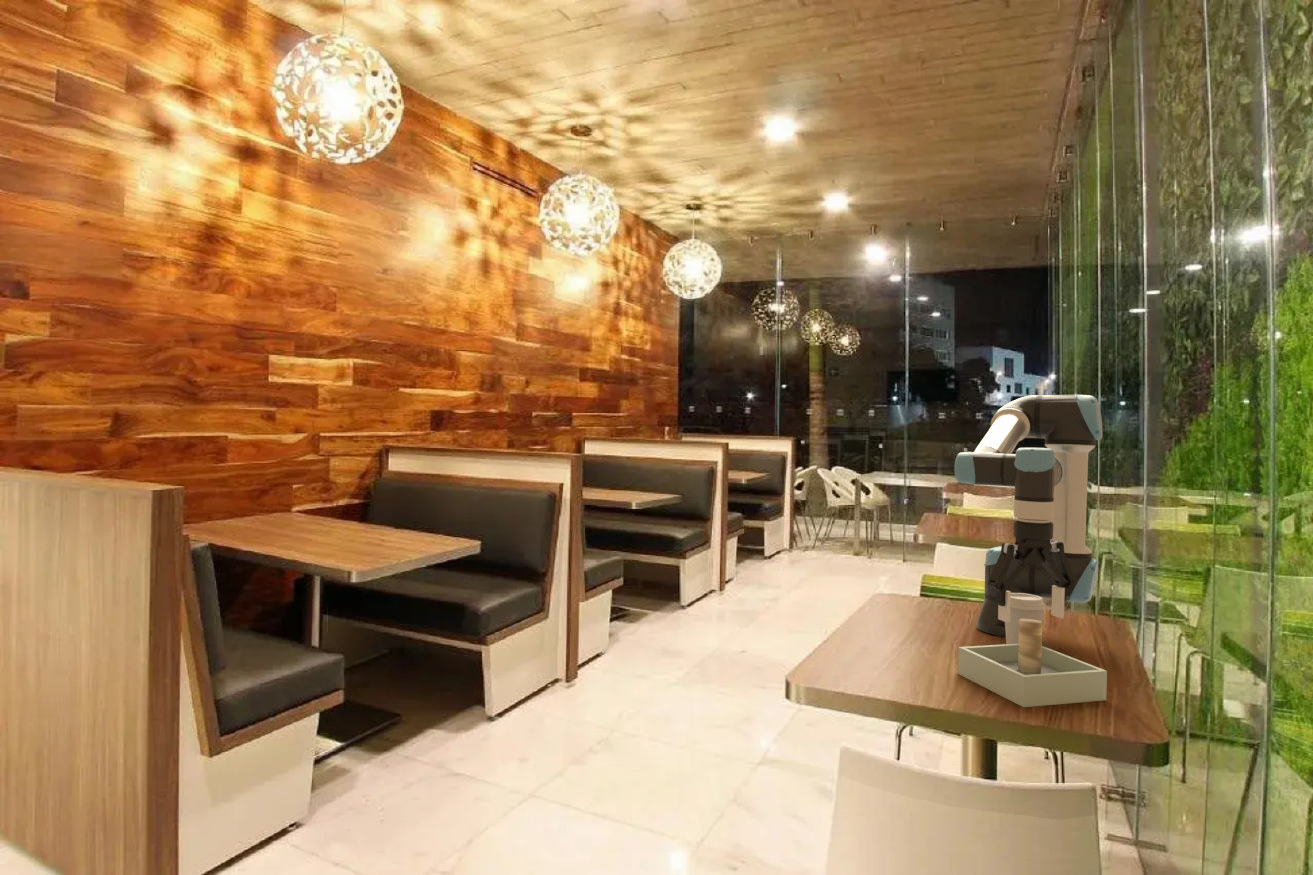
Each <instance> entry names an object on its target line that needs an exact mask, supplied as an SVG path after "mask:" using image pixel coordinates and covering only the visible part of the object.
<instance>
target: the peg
mask: <svg viewBox="0 0 1313 875" xmlns="http://www.w3.org/2000/svg"><path fill="white" fill-rule="evenodd" d="M1042 646H1043V621H1042V622H1041V621H1038V620H1033V619H1020V620H1019V648H1018V672H1019V673H1022V674H1024V675H1031V674H1041V654H1042Z"/></svg>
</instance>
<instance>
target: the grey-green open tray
mask: <svg viewBox="0 0 1313 875" xmlns="http://www.w3.org/2000/svg"><path fill="white" fill-rule="evenodd" d="M1018 648H1019V644H1005V643H1002V644H990V645H989V644H988V645H973V646H972V645H971V646H959V647H958V656H957V657H958V658H957V660H958V661H957V662H958V663H957V675H958V676H959V675H960V676H961V677H964V678H965V679H968V680H969V681H971V682H973V683H974V684H977V685H979V686H981V687H982V688H985V689H986V690H989V691H991V692H993V693H994V694H997V695H999V696H1000V697H1002V698H1004V699H1006V700H1008V701H1009V702H1010V701H1011V702H1012V703H1014V704H1016V705H1018V706H1020V707H1022V708H1029V707H1030V708H1032V707H1042V706H1053V705H1056V706H1057V705H1066V704H1079V703H1089V702H1100V701H1107V688H1108V687H1107V684H1108V670H1105V669H1103V668H1100V667H1098V666H1096V665H1093V664H1091V663H1087V662H1085V661H1082V660H1080V659H1077V658H1074V657H1073V656H1069V655H1067V654H1064V653H1062V652H1059V651H1056V650H1054V649H1051V648H1049V647H1046V646H1044V645H1042V654H1041V674H1031V675H1024V674H1022V673H1019V672H1018Z"/></svg>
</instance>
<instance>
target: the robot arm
mask: <svg viewBox="0 0 1313 875" xmlns="http://www.w3.org/2000/svg"><path fill="white" fill-rule="evenodd" d="M1102 420H1103V418H1102V414H1101V408H1100V404H1099V401H1098V399H1097V398H1096V397H1095V396H1093V395H1089V394H1088V395H1087V394H1046V395H1045V394H1043V395H1040V394H1039V395H1038V394H1035V395H1034V394H1033V395H1027V396H1023V397H1022V396H1021V397H1020V398H1017V399H1015V400H1012V401H1010V402H1009V403H1006V404H1005V405H1003V406H1002V407H1000V408H999V409H998V410H997V411H996V412H995V413H994V415H993V417H992V418H991V420H990V428H989V429H988V431H987V432H986V433H985V434H984V436H983V438H982V439H981V440H980V442H979V444H978V445H977V447H976V448H975V449H974V451H973V452H972V451H967V452H966V451H964V452H959V453H957V455H956V457H955V460H954V476H955V479H956V481H957V482H958V483H959V484H965V485H968V484H969V485H972V486H976V485H977V486H995V487H996V486H997V487H1009V488H1010V487H1011V488H1012V487H1013V488H1014V499H1013V500H1014V502H1013V517H1014V518H1016V519H1015V520H1014V521H1013V536H1014V538H1015V540H1014V544H1013V543H1008V542H1002V543H1001V545H1000V546H995V547H991V548H989V549H987V551H986V553H985V561H984V562H985V563H984V598H983V603H982V606H981V608H980V611H979V615H978V616H977V618H976V629H978V630H979V631H981V632H984V633H985V634H986V633H987V634H991V635H993V636H994V635H995V636H998V637H999V636H1000V637H1003V638H1004V637H1005V638H1006V630H1005V622H1007V623H1008V622H1010V605H1011V593H1025V594H1032V595H1036V596H1039V597H1041V598H1042V599H1044V598H1045V599H1051V608H1050V609H1051V610H1050V611H1051V616H1053V617H1055V618H1059V619H1064V618H1065V602H1068V603H1072V602H1073V603H1082V604H1084V603H1085V604H1086V603H1088V602H1089V601H1090V600H1091V599H1092V598H1093V594H1094V591H1095V587H1096V582H1097V577H1098V571H1099V560H1098V559H1097V558H1093V556H1092V555H1093V552H1092V550H1091V549H1090V548H1089V547H1088V546H1087V545H1086V541H1087V540H1086V536H1087V535H1086V534H1087V533H1086V532H1087V531H1086V530H1087V504H1088V502H1087V501H1088V475H1089V474H1088V469H1089V467H1088V466H1089V453H1090V452H1091V451H1092V450H1093V449H1095V448H1096V441H1100V440H1102V439H1103V421H1102ZM1025 439H1044V446H1045V447H1019V448H1017V449H1016V451H1015V453H1013V452H1014V449H1015V448H1016V446H1017V445H1018V443H1019V442H1020V441H1023V440H1025Z"/></svg>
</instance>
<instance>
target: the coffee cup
mask: <svg viewBox="0 0 1313 875" xmlns="http://www.w3.org/2000/svg"><path fill="white" fill-rule="evenodd" d="M1046 609H1047V606H1046V603H1045V601H1044V598H1042V597H1039V596H1036V595H1032V594H1025V593H1011V605H1010V622H1008V623H1007V622H1005V630H1006V637H1005V641H1006V644H1019V620H1020V619H1033V620H1038V621H1041V622H1042V623H1043V619H1044V618H1043V616H1044V610H1046Z"/></svg>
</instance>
